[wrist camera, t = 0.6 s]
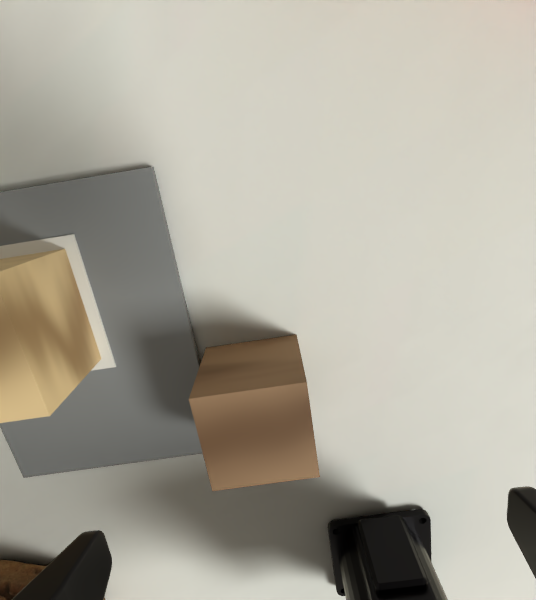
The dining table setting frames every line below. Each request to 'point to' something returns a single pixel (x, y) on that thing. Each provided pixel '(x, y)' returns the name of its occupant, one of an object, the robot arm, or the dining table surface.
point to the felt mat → (110, 324)
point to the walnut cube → (254, 414)
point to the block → (16, 577)
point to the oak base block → (41, 335)
